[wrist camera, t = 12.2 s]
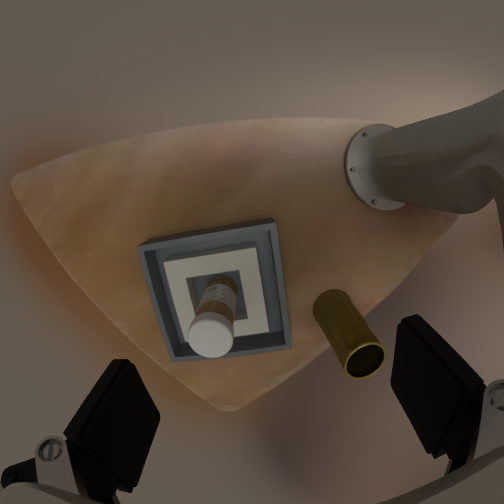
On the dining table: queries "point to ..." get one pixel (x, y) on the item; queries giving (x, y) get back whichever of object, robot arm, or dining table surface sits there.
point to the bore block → (210, 263)
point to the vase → (349, 335)
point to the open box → (207, 239)
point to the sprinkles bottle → (214, 319)
